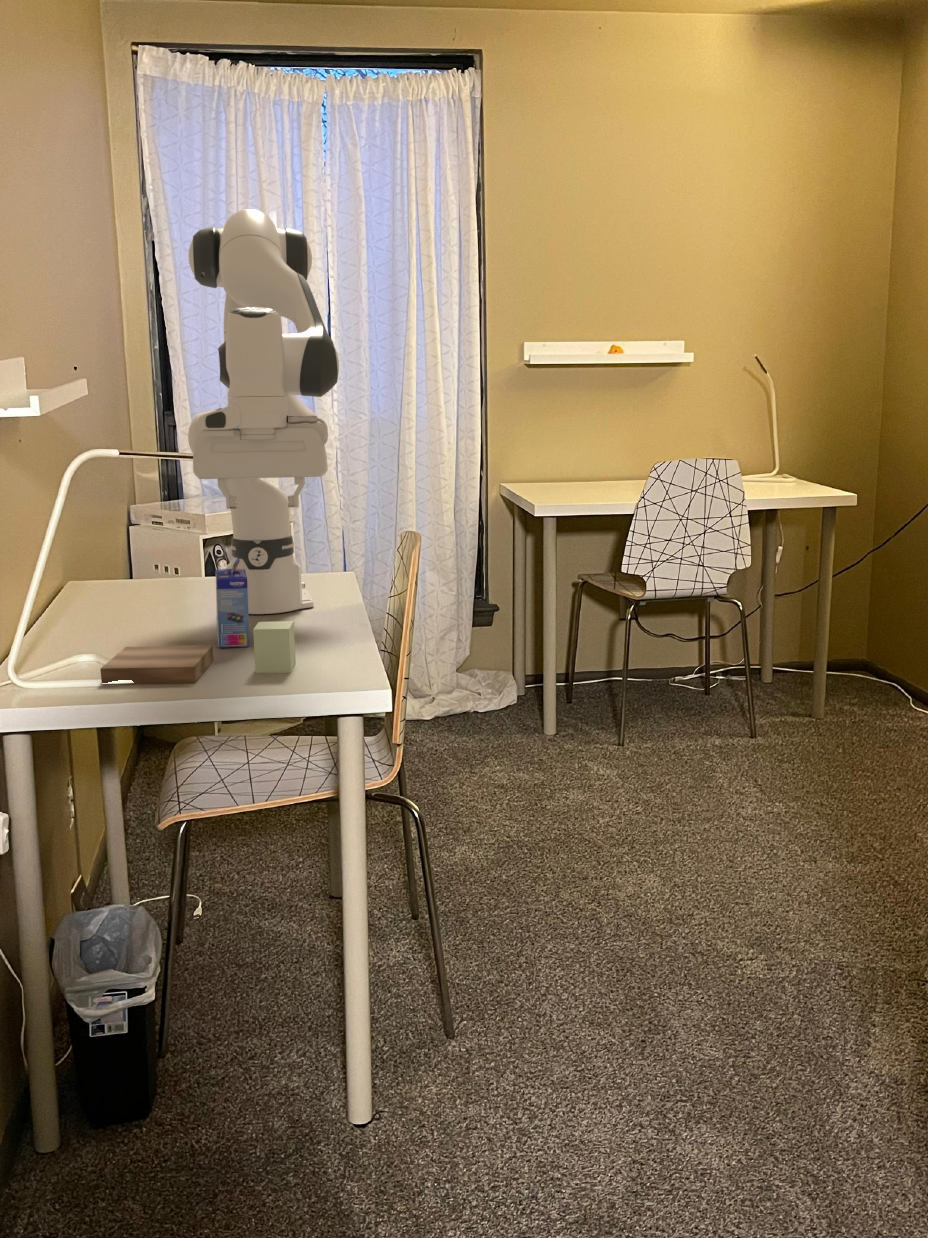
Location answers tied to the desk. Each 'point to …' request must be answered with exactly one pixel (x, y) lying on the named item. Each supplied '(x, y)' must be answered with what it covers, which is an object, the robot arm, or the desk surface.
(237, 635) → the ink cartridge box
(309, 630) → the desk surface
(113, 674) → the walnut base
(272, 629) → the sage block
